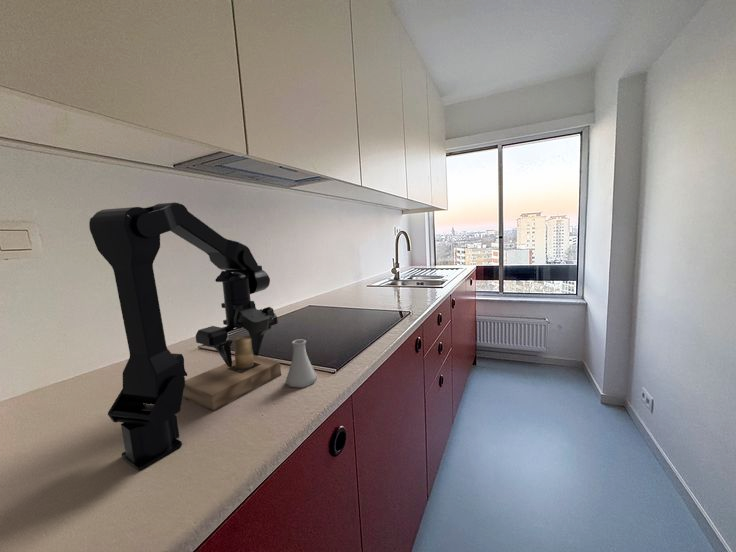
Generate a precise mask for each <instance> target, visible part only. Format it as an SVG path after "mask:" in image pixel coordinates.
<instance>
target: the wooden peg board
mask: <svg viewBox="0 0 736 552" xmlns="http://www.w3.org/2000/svg"><path fill="white" fill-rule="evenodd" d="M253 363H254V366H253V367H252V369H250V370H248V371H246V372H244V373H242V374H241V373H238V370H236V369H235V365H236V364H235V359H234V360H233V359H232V367H228V366H227V364H226V363H223V364H221V365H220V366H217V367H214V368H212V369H209V370H207V371H204V372H202V373H200V374H197V375H195V376H192V377H189V378H187V379H185V387H184V390H183V396H182V399H186V400H188V401H189V402H192V403H195V404H196V405H198V406H201V407H203V408H205V409H208V410H210V411H211V412H216V411H218V410H219V409H222V408H223V407H225V406H227V405H228V404H230V403H232V402H234V401H236V400H238V399H240V398H241V397H244V396H245V395H247V394H248V393H251V392H252V391H254V390H256V389H258V388H260V387H262V386H264V385H265V384H267V383H269V382H271V381H273V380H275V379H277V378H279V377H281V375H282V369H281V367H282V366H281V361H280V360H279V361H278V360H273V359H270V358H267V357H263V356H259V355H258V356H255V355H254V354H253Z"/></svg>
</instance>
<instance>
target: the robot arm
mask: <svg viewBox="0 0 736 552" xmlns="http://www.w3.org/2000/svg"><path fill="white" fill-rule="evenodd" d="M88 223H89V232H90V234H91V236H92V239H93V241H94V244H95V247H96V249H97V251H98V253H99V254H100V255H101V256H102V257H103V258H104V259H105V260H106V261H107V263H108V264H109V265H110V266H111V268H112V270H113V274H114V280H115V285H116V289H117V294H118V299H119V304H120V306H119V307H120V310H121V315H122V320H123V325H124V330H125V336H126V340H127V345H128V352H129V358H128V360H127V362H126V364H125V367H124V368H123V371H122V389H121V391H120V392H119V394H118V395H117V397H116V398H115V400H114V402H113V404H112V405H111V407H110V409H109V410H108V411H107V416H108V417H109V418H110V419H111V420H110V421H112V422H113V423H120V426H121V434H122V438H123V439H122V440H123V445H124V451H123V452H122V453H121V454H120V455H121V458H122V459H124V460H125V461H126V462H128V463H129V464H130V465H131V466H132V467H134V468H135V469H136V470H137V471H140V470H143V469H145V468H146V467H149V466H150V465H151V464H153V463H155V462H157V461H158V460H160V459H162V458H163V457H165V456H167V455H168V454H170V453H172V452H174V451H176V450H177V449H179V448H180V447H182V446H183V441H181V440H180V439H179V438H180V432H179V431H180V430H179V424H178V423H179V422H178V416H177V414H178V413H180V412H181V407H182V403H183V397H182V396H183V390H184V387H185V380H186V377H188V373H187V371H186V369H185V358H184V356H183V354H182V353H173V352H171V351H170V350H169V349H168V346H167V342H166V335H165V331H164V330H165V329H164V325H163V319H162V312H161V307H160V301H159V295H158V288H157V283H156V279H155V273H154V261H155V260H156V257H157V255H158V252H159V251H160V248H161V235H163V234H166V233H168V232H171V233H173V234H175V235H177V236H178V237H180V238H181V239H183V240H184V241H186V242H187V243H189V244H190V245H192V246H194V247H196V248H198V249H199V250H200V251H202V252H204V253H205V254H206V255H208V258H209V260H210V262H211V263H212V265H214V266H215V267H217V268H218V269H219V270H221V272H220V273H219V275H218V276H216V278H215V280H214V281H215V282H216V283H221V284H222V291H223V300H224V301H223V303H222V302H221V305H220V306H221V308H223V309H224V311H225V319H223V320H222V322H223V325H225V326H224V327H220V326H214V325H211V326H208V327H204V328H200V329H198V330H197V331H196V333H195V343H197V344H200V345H205V346H208V347H214V348H215V350H216V351H217V352H218V354H219V356H220V357H221V358H222V360H223V362H224V364H227V366H228V367H232V361H233V358H232V351H231V346H232V344H233V343H234V340H232V339H229V335H231V334H234V333H238V332H241V331H244V330H246V331H247V332H248V336H249V337H251V338H252V352H253V355H255V356H259V353H260V349H261V346H262V342H263V339H264V336H265V334H266V333H267V332H268V331H269V330H271V329H272V326H275V325H277V324H278V316H277V314H276V313H275V311H274V308H273V307H271V306H267V307H264V308H260V309H257V308H256V303H255V301H254V300H251V295H252V294H255V293H258V292H262V291H264V290H266V289H267V288H269V286H270V282H271V278H270V276H269V275H268V273H267V272H266V271H265V270H263V266H262V265H259V264H258V263H257V261H256V259H255V257H254V255H253V254H252V251H251V250H250V248H249V247H248V246H247V245H245V244H243V243H242V242H240V241H236V240H232V239H228V238H226V237H224V236H223V235H221V234H220V233H218V231H216V230H214V229H213V228H212V227H210V226H209V225H207V224H206V223H205V222H203V221H202V220H200V219H199V218H198V217H197V216H195V215H194V214H192V213H191V212H190V211H188V208H187V207H186V206H185V205H184V204H182V203H179V202H165V203H163V202H161V203H157V204H155V205H152V206H146V207H141V206H131V207H120V208H118V207H117V208H108V209H106V208H105V209H101V210H98V211H97V212H96V213H95V214H94V215H93V216H91V217H90V218H89V222H88Z"/></svg>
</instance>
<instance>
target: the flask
mask: <svg viewBox="0 0 736 552" xmlns="http://www.w3.org/2000/svg"><path fill="white" fill-rule="evenodd" d="M306 343H307V340H306V339H300V338H298V339H295V340H293V341H291V345H292V349H293V351H292V358H291V363H290V366H289V370H288V372H287V376H286V379H285V384H286V385H288V386H289V387H291V388H305V387H309V386H311V385H313V384H315V382H316V380H317V379H318V375H317V374H316V371H315V369H314V367H313V365H312V364H311V363H312V362H311V361H310V359H309V357H308V353H307V351H306V350H307V349H306Z"/></svg>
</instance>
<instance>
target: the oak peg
mask: <svg viewBox="0 0 736 552" xmlns="http://www.w3.org/2000/svg"><path fill="white" fill-rule="evenodd" d="M233 347H234V360H235V364H236V365H235V369H236V370H238V373H241V374H242V373H244V372H246V371H248V370H250V369H252V367H253V366H254V363H253V355H254V353H253V350H252V338H251V337H250V335H248V336H247V335H246V336H239V337H236V338H234V339H233Z"/></svg>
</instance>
